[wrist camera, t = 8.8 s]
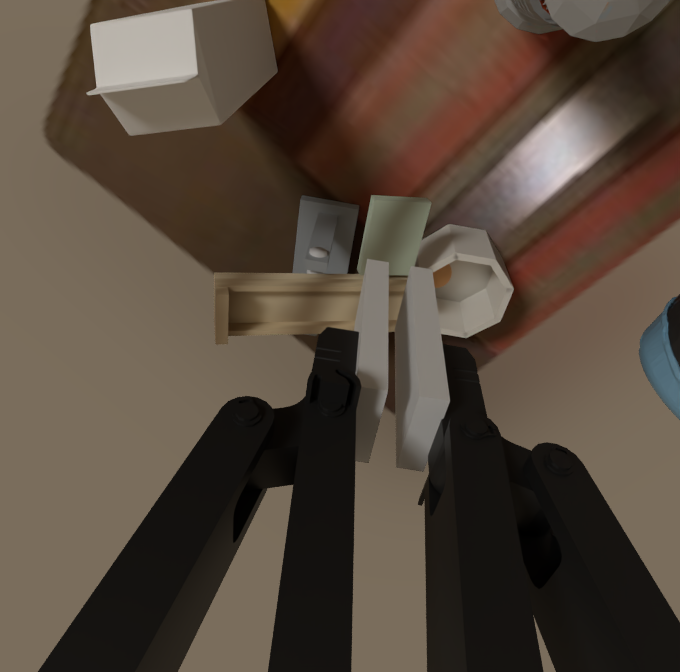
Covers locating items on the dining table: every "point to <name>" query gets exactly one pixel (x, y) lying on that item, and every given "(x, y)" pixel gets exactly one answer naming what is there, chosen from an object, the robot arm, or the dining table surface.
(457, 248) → the cup
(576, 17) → the french press
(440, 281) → the ball
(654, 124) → the dining table surface
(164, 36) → the milk
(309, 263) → the fulcrum
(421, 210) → the lever
